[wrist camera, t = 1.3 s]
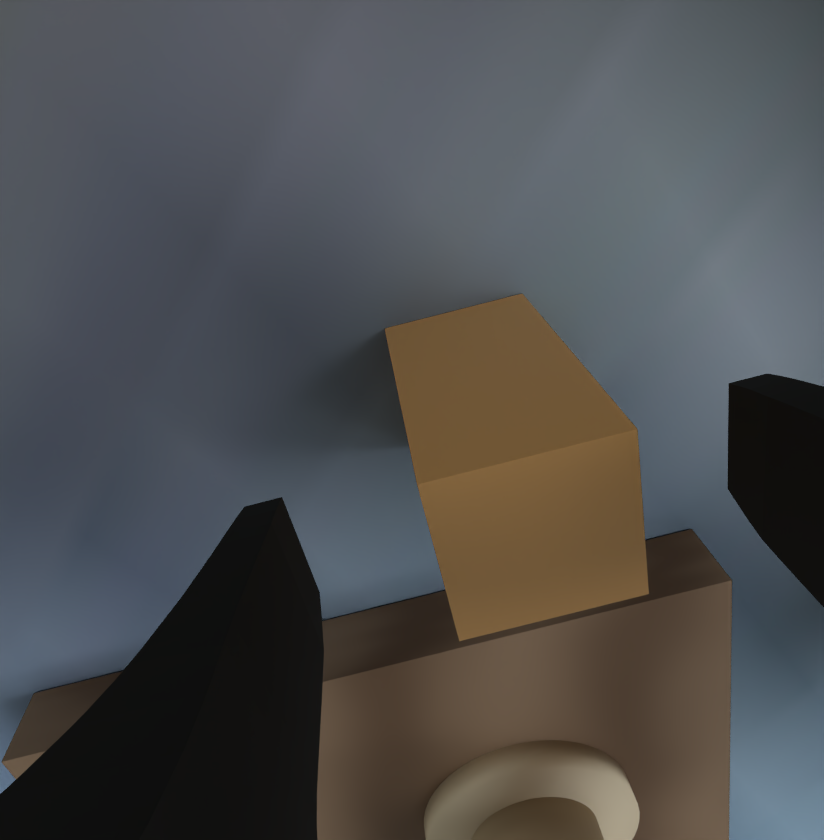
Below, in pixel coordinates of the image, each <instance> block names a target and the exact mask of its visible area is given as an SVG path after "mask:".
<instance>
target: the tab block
mask: <svg viewBox="0 0 824 840" xmlns="http://www.w3.org/2000/svg"><path fill="white" fill-rule="evenodd" d="M385 333H386V338H387V343H388V347H389V352H390V357H391V362H392V367H393V371H394V376H395V381H396V386H397V391H398V395H399V400H400V405H401V410H402V414H403V419H404V424H405V429H406V434H407V438H408V443H409V448H410V453H411V458H412V462H413V467H414V472H415V477H416V481H417V486H418V490H419V493H420V497H421V501H422V504H423V508H424V512H425V516H426V519H427V523H428V527H429V530H430V534H431V538H432V542H433V545H434V549H435V553H436V556H437V560H438V564H439V568H440V571H441V575H442V579H443V582H444V586H445V590H446V594H447V597H448V601H449V605H450V608H451V612H452V616H453V620H454V623H455V627H456V631H457V634H458V638H459V641H462V640H466V639H470V638H474V637H478V636H482V635H486V634H491V633H495V632H499V631H503V630H507V629H511V628H515V627H519V626H523V625H527V624H531V623H535V622H539V621H543V620H547V619H551V618H555V617H559V616H563V615H567V614H571V613H575V612H579V611H583V610H587V609H591V608H595V607H599V606H603V605H607V604H611V603H615V602H619V601H623V600H627V599H631V598H635V597H639V596H643V595H647V594H649V588H648V574H647V560H646V545H645V531H644V516H643V502H642V488H641V473H640V459H639V445H638V430H637V428H636V427H635V426H634V424H633V423H632V422H631V421H630V420H629V419H628V417H627V416H626V415H625V414H624V413H623V412H622V410H621V409H620V408H619V407H618V406H617V404H616V403H615V402H614V401H613V400H612V399H611V397H610V396H609V395H608V394H607V393H606V392H605V390H604V389H603V388H602V387H601V386H600V384H599V383H598V382H597V381H596V380H595V379H594V377H593V376H592V375H591V374H590V373H589V371H588V370H587V369H586V368H585V367H584V366H583V364H582V363H581V362H580V361H579V360H578V359H577V357H576V356H575V355H574V354H573V353H572V351H571V350H570V349H569V348H568V347H567V346H566V344H565V343H564V342H563V341H562V340H561V339H560V337H559V336H558V335H557V334H556V333H555V331H554V330H553V329H552V328H551V327H550V326H549V324H548V323H547V322H546V321H545V320H544V318H543V317H542V316H541V315H540V314H539V313H538V311H537V310H536V309H535V308H534V307H533V306H532V304H531V303H530V302H529V301H528V300H527V298H526V297H525V296H524V295H523V294H518V295H514V296H510V297H506V298H502V299H498V300H495V301H491V302H487V303H483V304H479V305H475V306H471V307H467V308H463V309H459V310H455V311H451V312H447V313H443V314H440V315H436V316H432V317H428V318H424V319H420V320H416V321H412V322H408V323H404V324H400V325H396V326H392V327H388V328H385Z"/></svg>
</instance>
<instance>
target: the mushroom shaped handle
mask: <svg viewBox="0 0 824 840" xmlns="http://www.w3.org/2000/svg"><path fill="white" fill-rule="evenodd" d="M639 819H640V811H639V807H638V803H637V801H636V798H635V796H634V793H633V791H632V789H631V786H630V784H629V781H628V779H627V777H626V775H625V772H624V770H623V769H622V767H621V766H620V765H619V763H618V762H617V761H616V760H614V759H613V758H612V757H611V756H610V755H608V754H606V753H605V752H603V751H601V750H599V749H597V748H594V747H592V746H589V745H585V744H582V743H577V742H571V741H561V740H540V741H532V742H524V743H519V744H515V745H510V746H507V747H503V748H500V749H497V750H494V751H492V752H489V753H486V754H484V755H482V756H480V757H478V758H476V759H474V760H472V761H470V762H468V763H467V764H465V765H463V766H462V767H460V768H459V769H457V770H456V771H455V772H453V773H452V774H451V775H449V776H448V777H447V778H446V779H445V780H444V781H443V782H442V783H441V784H440V785H439V787H438V788H437V789H436V790H435V792H434V793H433V795H432V796H431V798H430V800H429V802H428V804H427V807H426V809H425V815H424V829H425V838H426V840H632V839H633V838H634V836H635V833H636V831H637V829H638V824H639Z"/></svg>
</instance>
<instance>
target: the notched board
mask: <svg viewBox="0 0 824 840" xmlns="http://www.w3.org/2000/svg"><path fill="white" fill-rule="evenodd" d="M645 545H646V560H647V574H648V588H649V594H647V595H643V596H639V597H635V598H631V599H627V600H623V601H619V602H615V603H611V604H607V605H603V606H599V607H595V608H591V609H587V610H583V611H579V612H575V613H571V614H567V615H563V616H559V617H555V618H551V619H547V620H543V621H539V622H535V623H531V624H527V625H523V626H519V627H515V628H511V629H507V630H503V631H499V632H495V633H491V634H486V635H482V636H478V637H474V638H470V639H466V640H462V641H459V638H458V634H457V631H456V627H455V623H454V620H453V616H452V612H451V608H450V605H449V601H448V597H447V594H446V590H445V591H441V592H437V593H433V594H429V595H425V596H421V597H417V598H413V599H409V600H405V601H401V602H397V603H393V604H389V605H385V606H381V607H377V608H373V609H369V610H365V611H361V612H357V613H353V614H349V615H345V616H341V617H337V618H333V619H329V620H325V621H322V627H323V642H324V664H323V686H322V706H321V725H320V744H319V763H318V781H317V839H318V840H426V838H425V829H424V815H425V809H426V807H427V804H428V802H429V800H430V798H431V796H432V795H433V793H434V792H435V790H436V789H437V788H438V787H439V785H440V784H441V783H442V782H443V781H444V780H445V779H446V778H447V777H448V776H449V775H451V774H452V773H453V772H455V771H456V770H457V769H459V768H460V767H462V766H463V765H465V764H467V763H468V762H470V761H472V760H474V759H476V758H478V757H480V756H482V755H484V754H486V753H489V752H492V751H494V750H497V749H500V748H503V747H507V746H510V745H515V744H519V743H524V742H532V741H540V740H561V741H571V742H577V743H582V744H585V745H589V746H592V747H594V748H597V749H599V750H601V751H603V752H605V753H606V754H608V755H610V756H611V757H612V758H613V759H614V760H616V761H617V762H618V763H619V765H620V766H621V767H622V769H623V770H624V772H625V775H626V777H627V779H628V781H629V784H630V786H631V789H632V791H633V793H634V796H635V798H636V801H637V803H638V807H639V811H640V819H639V824H638V829H637V831H636V833H635V836H634V838H633V839H632V840H729V786H730V703H731V620H732V580H731V578H730V577H729V576H728V575H727V573H726V572H725V571H724V569H723V568H722V567H721V566H720V564H719V563H718V562H717V561H716V559H715V558H714V557H713V555H712V554H711V553H710V552H709V550H708V549H707V548H706V546H705V545H704V544H703V543H702V541H701V540H700V539H699V538H698V536H697V535H696V534H695V532H694V531H693V530H692V529H690V530H686V531H682V532H678V533H674V534H670V535H666V536H662V537H658V538H654V539H650V540H646V541H645ZM121 673H122V671H121V672H117V673H113V674H109V675H105V676H101V677H97V678H93V679H89V680H85V681H81V682H77V683H73V684H69V685H65V686H61V687H57V688H53V689H49V690H45V691H41V692H37V693H34V694H33V696H32V698H31V701H30V703H29V705H28V707H27V709H26V711H25V713H24V715H23V717H22V720H21V722H20V724H19V726H18V728H17V730H16V732H15V734H14V736H13V739H12V741H11V743H10V745H9V747H8V749H7V751H6V753H5V756H4V758H3V760H2V763H3V764H4V766H5V767H6V768H7V769H8V770H9V772H10V773H11V774H12V775H13V776H14V777H15V779H17V778H18V777H19V776H20V775H21V774H22V773H24V772H25V771H26V770H27V769H28V768H29V767H30V766H31V765H32V764H33V763H34V762H35V761H36V760H37V759H38V758H39V757H40V756H41V755H42V754H43V753H44V752H45V751H46V750H47V749H49V748H50V747H51V746H52V745H53V744H54V743H55V742H56V741H57V740H58V739H59V738H60V737H61V736H62V735H63V734H64V733H65V732H66V731H67V730H68V729H69V728H70V727H71V726H72V725H73V724H74V723H75V722H76V721H77V720H78V719H79V718H80V717H81V716H82V715H83V714H84V713H85V712H86V711H87V710H88V709H89V708H90V707H91V705H92V704H93V703H94V702H95V701H96V700H97V699H98V698H99V697H100V696H101V695H102V694H103V693H104V691H105V690H106V689H107V688H108V687H109V686H110V685H111V684H112V683H113V682H114V681H115V679H116V678H117V677H118V676H119V675H120V674H121Z"/></svg>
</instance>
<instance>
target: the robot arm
mask: <svg viewBox="0 0 824 840" xmlns="http://www.w3.org/2000/svg"><path fill="white" fill-rule="evenodd" d="M728 490H729V491H730V493H731V495H732V496H733V498H734V499H735V501H736V502H737V504H738V505H739V507H740V508H741V510H742V511H743V513H744V514H745V516H746V517H747V519H748V520H749V522H750V523H751V524H752V526H753V527H754V529H755V530H756V531H757V533H758V534H759V536H760V537H761V538H762V540H763V541H764V542H765V543H766V544H767V545H768V546H769V548H770V549H771V550H772V551H773V552H774V553H775V554H776V555H777V557H778V558H779V559H780V560H781V561H782V562H783V563H784V564H785V565H786V567H787V568H788V569H789V570H790V571H791V572H792V573H793V574H794V575H795V577H796V578H797V579H798V580H799V581H800V582H801V583H802V584H803V585H804V586H805V587H806V588H807V590H808V591H809V592H810V593H811V594H812V595H813V596H814V597H815V598H816V599H817V600H818V601H819V603H820V604H821V605H822V606H823V607H824V387H823V386H819V385H815V384H812V383H808V382H804V381H800V380H796V379H792V378H787V377H783V376H777V375H772V374H764V375H760V376H756V377H752V378H748V379H744V380H740V381H736V382H732V383H729V416H728ZM323 664H324V642H323V627H322V615H321V604H320V592H319V590H318V587H317V585H316V582H315V580H314V577H313V575H312V572H311V570H310V567H309V565H308V562H307V560H306V557H305V555H304V552H303V549H302V547H301V544H300V542H299V539H298V537H297V534H296V532H295V529H294V527H293V524H292V522H291V519H290V517H289V514H288V511H287V509H286V506H285V504H284V501H283V499H282V497H281V498H277V499H273V500H269V501H265V502H262V503H258V504H254V505H250V506H246V507H244V508H243V510H242V511H241V512H240V514H239V515H238V516H237V518H236V519H235V521H234V522H233V524H232V525H231V526H230V528H229V529H228V531H227V532H226V534H225V535H224V537H223V538H222V540H221V541H220V543H219V544H218V546H217V547H216V549H215V550H214V552H213V553H212V555H211V556H210V558H209V559H208V560H207V562H206V563H205V565H204V566H203V568H202V569H201V570H200V572H199V573H198V575H197V576H196V577H195V579H194V580H193V582H192V583H191V585H190V586H189V587H188V589H187V590H186V592H185V593H184V595H183V596H182V597H181V599H180V600H179V601H178V603H177V604H176V605H175V606H174V608H173V609H172V610H171V612H170V613H169V614H168V615H167V617H166V618H165V619H164V621H163V622H162V623H161V624H160V626H159V627H158V628H157V630H156V631H155V632H154V633H153V635H152V636H151V637H150V639H149V640H148V641H147V642H146V644H145V645H144V646H143V648H142V649H141V650H140V651H139V653H138V654H137V655H136V656H135V657H134V659H133V660H132V661H131V662H130V663H129V664H128V666H127V667H126V668H125V669H124V670H123V671H122V673H121V674H120V675H119V676H118V677H117V678H116V679H115V681H114V682H113V683H112V684H111V685H110V686H109V687H108V688H107V689H106V690H105V691H104V693H103V694H102V695H101V696H100V697H99V698H98V699H97V700H96V701H95V702H94V703H93V704H92V705H91V707H90V708H89V709H88V710H87V711H86V712H85V713H84V714H83V715H82V716H81V717H80V718H79V719H78V720H77V721H76V722H75V723H74V724H73V725H72V726H71V727H70V728H69V729H68V730H67V731H66V732H65V733H64V734H63V735H62V736H61V737H60V738H59V739H58V740H57V741H56V742H55V743H54V744H53V745H52V746H51V747H50V748H49V749H47V750H46V751H45V752H44V753H43V754H42V755H41V756H40V757H39V758H38V759H37V760H36V761H35V762H34V763H33V764H32V765H31V766H30V767H29V768H28V769H27V770H26V771H25V772H24V773H22V774H21V775H20V776H19V777H18V778H17V779H16V780H15V781H14V782H13V783H12V784H11V785H10V786H9V787H8V788H7V789H6V790H4V791H3V792H2V793H1V794H0V840H318V839H317V781H318V763H319V744H320V725H321V706H322V686H323Z"/></svg>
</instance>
